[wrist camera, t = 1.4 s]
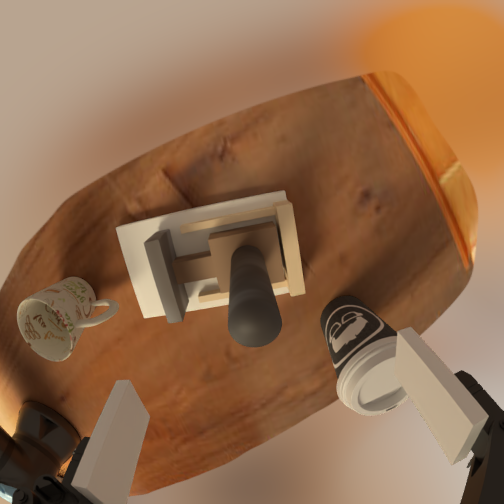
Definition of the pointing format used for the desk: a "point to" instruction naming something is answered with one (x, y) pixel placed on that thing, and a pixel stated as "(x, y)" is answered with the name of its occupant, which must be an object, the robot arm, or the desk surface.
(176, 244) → the white slotted peg base
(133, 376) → the desk surface
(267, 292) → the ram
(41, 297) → the mug
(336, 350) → the coffee cup
